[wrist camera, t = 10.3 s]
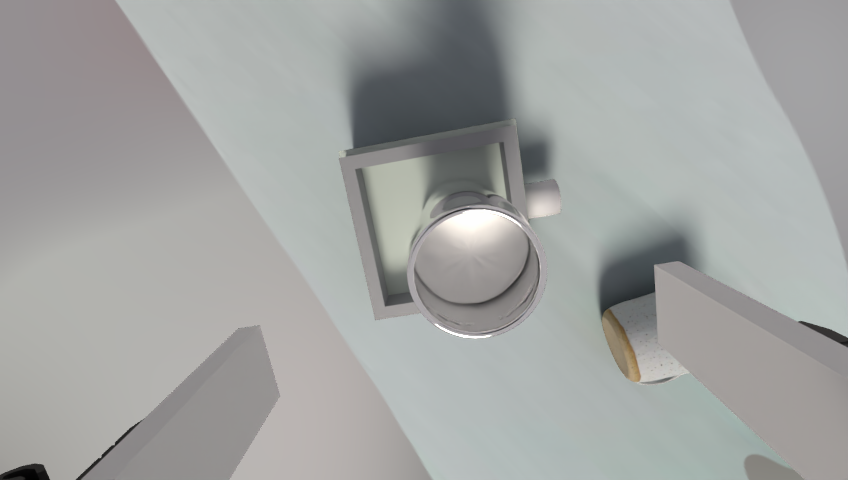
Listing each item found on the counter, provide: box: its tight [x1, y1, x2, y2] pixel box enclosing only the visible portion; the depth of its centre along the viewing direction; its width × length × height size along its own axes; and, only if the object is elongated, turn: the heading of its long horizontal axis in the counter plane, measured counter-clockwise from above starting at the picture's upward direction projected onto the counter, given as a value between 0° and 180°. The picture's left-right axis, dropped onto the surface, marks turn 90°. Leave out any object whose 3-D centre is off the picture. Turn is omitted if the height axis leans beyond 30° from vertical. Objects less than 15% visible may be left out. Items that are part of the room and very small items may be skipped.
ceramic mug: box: [602, 292, 690, 385], centre depth 39 cm, size 11×8×8 cm
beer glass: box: [407, 179, 547, 338], centre depth 27 cm, size 7×7×15 cm
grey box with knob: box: [339, 118, 561, 320], centre depth 36 cm, size 14×17×8 cm
